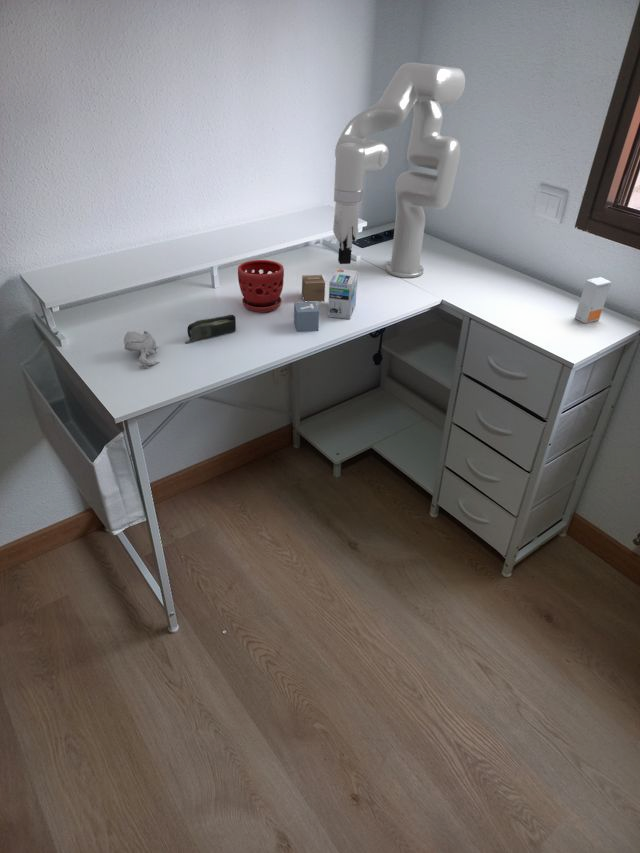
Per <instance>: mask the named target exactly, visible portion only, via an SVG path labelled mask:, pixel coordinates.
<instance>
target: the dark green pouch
mask: <svg viewBox="0 0 640 853" xmlns="http://www.w3.org/2000/svg"><path fill="white" fill-rule="evenodd" d="M236 324H237V321H236V316H235V315H234V314H226V315H223V316H217V317H216V316H215V317H213V318H206V319H199V320H195V321H194V322H192V323H190V324H188V326H187V330H186V331H187V336H188V338H189V339H188V340H185V342H184V344H190V343H194V342H198V341H202V340H206V339H208V340H209V339H211V338H216V337H220V336H225V335H228V334H233V333H234V332H236V330H237V325H236Z"/></svg>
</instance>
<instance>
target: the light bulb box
mask: <svg viewBox="0 0 640 853" xmlns="http://www.w3.org/2000/svg"><path fill="white" fill-rule="evenodd" d="M358 273H359V272H358V270H350V269H345V268H344V269H343V268H335V270H334V272H333V274H332V276H331V278H330V279H329V284H328V286H329V287H328V309H327V310H328V311H327V313H328V314H327V317H331V318H337V319H339V318H340V319H344V320H345V319H346V320H351V317H352V316H353V313H354V311H355V308H356V305H357V304H356V303H357V289H358V288H357V287H358Z"/></svg>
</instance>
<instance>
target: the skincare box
mask: <svg viewBox="0 0 640 853" xmlns="http://www.w3.org/2000/svg"><path fill="white" fill-rule="evenodd" d="M612 283H613V282H612V281H610V280H608V279H606V278H604V277H602V276H599V277H593V278H589V279H586V280H585V283H584V286H583V289H582V293H581V295H580V296H581V297H580V298H579V302H578V306H577V308H576V312H575V315H574V319H576V320H578V321H580V322H582V323H583V324H587V323H593V322H595V321H600V318H601V315H602V312H603V310H604V306H605V304H606V300H607V299H608V298H607V297H608V295H609V292H610V288H611V286H612Z"/></svg>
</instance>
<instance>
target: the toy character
mask: <svg viewBox="0 0 640 853" xmlns="http://www.w3.org/2000/svg"><path fill="white" fill-rule="evenodd" d="M123 344H124V349H125V350H126V351H129V352H138V353H140V354H139V357H138V359H136V360H137V362H139V364H140V365H139V368H140V369H149V368H150V367H149V366H155V365H156V364H161V362H159V361H157V360H156V361H151V360H149V359H148V358H147V356H150V355H151V354H152V355H154V354H156V353H157V352H156V350H158V348H159V347H158V346H157V345H156V341H155V339H154V337H153V335H152V334H151V333H150V332H149V331H147V330H144V331H143V333H140V332H137V331H133V330H132V331H127V332H126V333H125V334H124V337H123Z"/></svg>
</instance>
